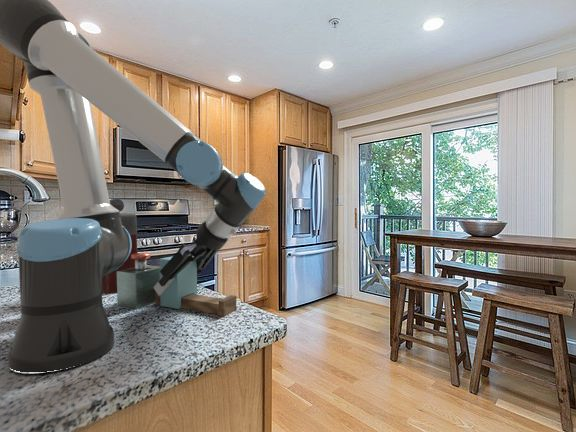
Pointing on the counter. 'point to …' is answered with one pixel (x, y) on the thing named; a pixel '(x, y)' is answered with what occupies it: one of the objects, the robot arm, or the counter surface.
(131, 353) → the counter surface
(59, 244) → the robot arm
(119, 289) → the grey button housing
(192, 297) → the rail
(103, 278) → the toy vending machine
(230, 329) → the counter surface
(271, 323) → the counter surface
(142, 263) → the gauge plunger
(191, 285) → the carriage
